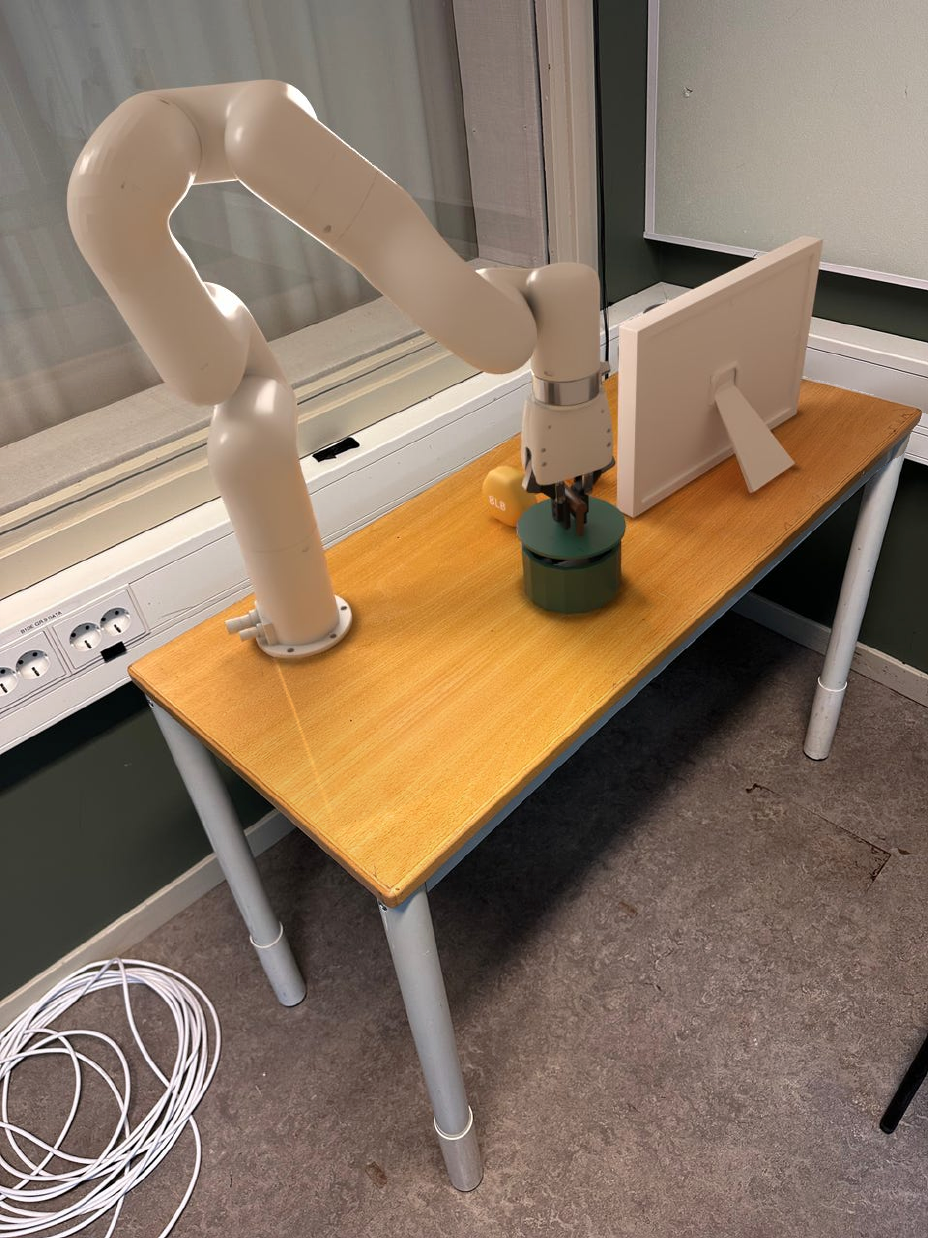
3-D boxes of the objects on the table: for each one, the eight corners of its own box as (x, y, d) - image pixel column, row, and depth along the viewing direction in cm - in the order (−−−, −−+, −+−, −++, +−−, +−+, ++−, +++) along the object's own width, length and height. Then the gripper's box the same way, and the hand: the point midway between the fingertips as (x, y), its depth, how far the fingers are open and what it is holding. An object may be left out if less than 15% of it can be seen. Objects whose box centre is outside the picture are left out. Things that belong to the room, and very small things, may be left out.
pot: (550, 628, 110) (547, 581, 106) (509, 575, 120) (505, 529, 115) (637, 598, 113) (639, 550, 108) (591, 548, 122) (591, 502, 118)
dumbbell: (519, 539, 126) (515, 489, 120) (478, 514, 131) (473, 466, 126) (613, 485, 134) (613, 437, 129) (571, 464, 140) (569, 417, 134)
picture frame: (780, 408, 147) (804, 234, 129) (849, 431, 139) (885, 250, 121) (616, 510, 129) (618, 325, 111) (686, 543, 121) (700, 350, 103)
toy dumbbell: (550, 599, 113) (545, 568, 111) (536, 587, 117) (531, 556, 115) (607, 579, 115) (603, 548, 113) (591, 568, 119) (587, 538, 117)
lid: (546, 576, 104) (543, 535, 101) (500, 520, 114) (496, 481, 110) (646, 543, 107) (647, 502, 104) (593, 491, 117) (592, 452, 113)
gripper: (612, 353, 103) (611, 489, 114) (487, 388, 99) (500, 525, 111) (646, 377, 97) (642, 518, 109) (515, 415, 94) (525, 556, 105)
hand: (570, 520), depth 110 cm, fingers closed on lid, 1 cm apart
